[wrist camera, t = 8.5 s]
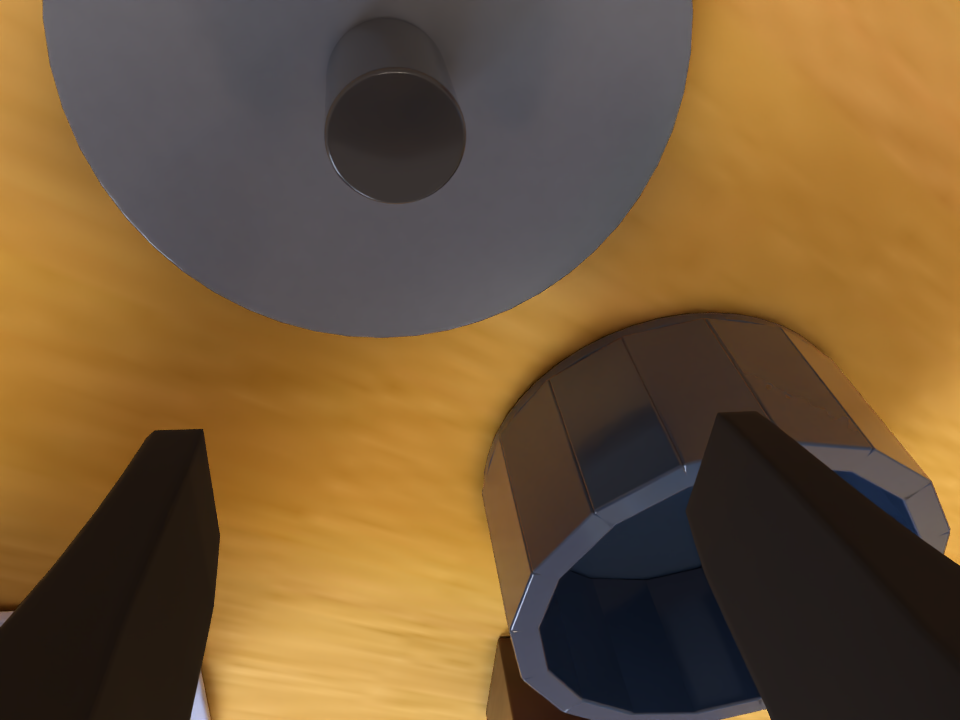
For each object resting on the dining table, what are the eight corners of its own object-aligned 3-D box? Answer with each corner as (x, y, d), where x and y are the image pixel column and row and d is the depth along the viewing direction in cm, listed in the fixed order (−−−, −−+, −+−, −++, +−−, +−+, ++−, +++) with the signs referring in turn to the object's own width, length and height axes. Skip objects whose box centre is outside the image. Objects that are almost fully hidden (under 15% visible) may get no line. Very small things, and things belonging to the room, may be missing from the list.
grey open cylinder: (512, 613, 29) (542, 761, 25) (450, 364, 22) (477, 511, 18) (826, 541, 29) (910, 677, 25) (864, 271, 22) (991, 394, 18)
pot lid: (205, 361, 21) (179, 479, 17) (-87, -239, 13) (-237, -237, 10) (681, 253, 21) (748, 350, 17) (666, -405, 13) (781, -460, 10)
